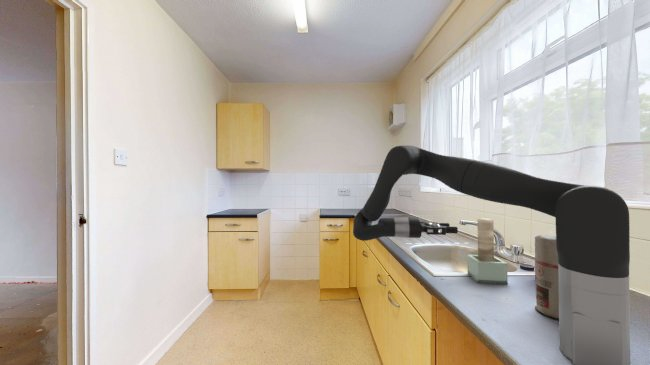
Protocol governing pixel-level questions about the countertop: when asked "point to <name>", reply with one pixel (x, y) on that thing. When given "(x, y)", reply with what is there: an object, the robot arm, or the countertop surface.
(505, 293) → the countertop surface
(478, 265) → the pale green open box
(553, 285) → the white labelled canister
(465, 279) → the countertop surface
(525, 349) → the countertop surface
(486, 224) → the birch dowel
